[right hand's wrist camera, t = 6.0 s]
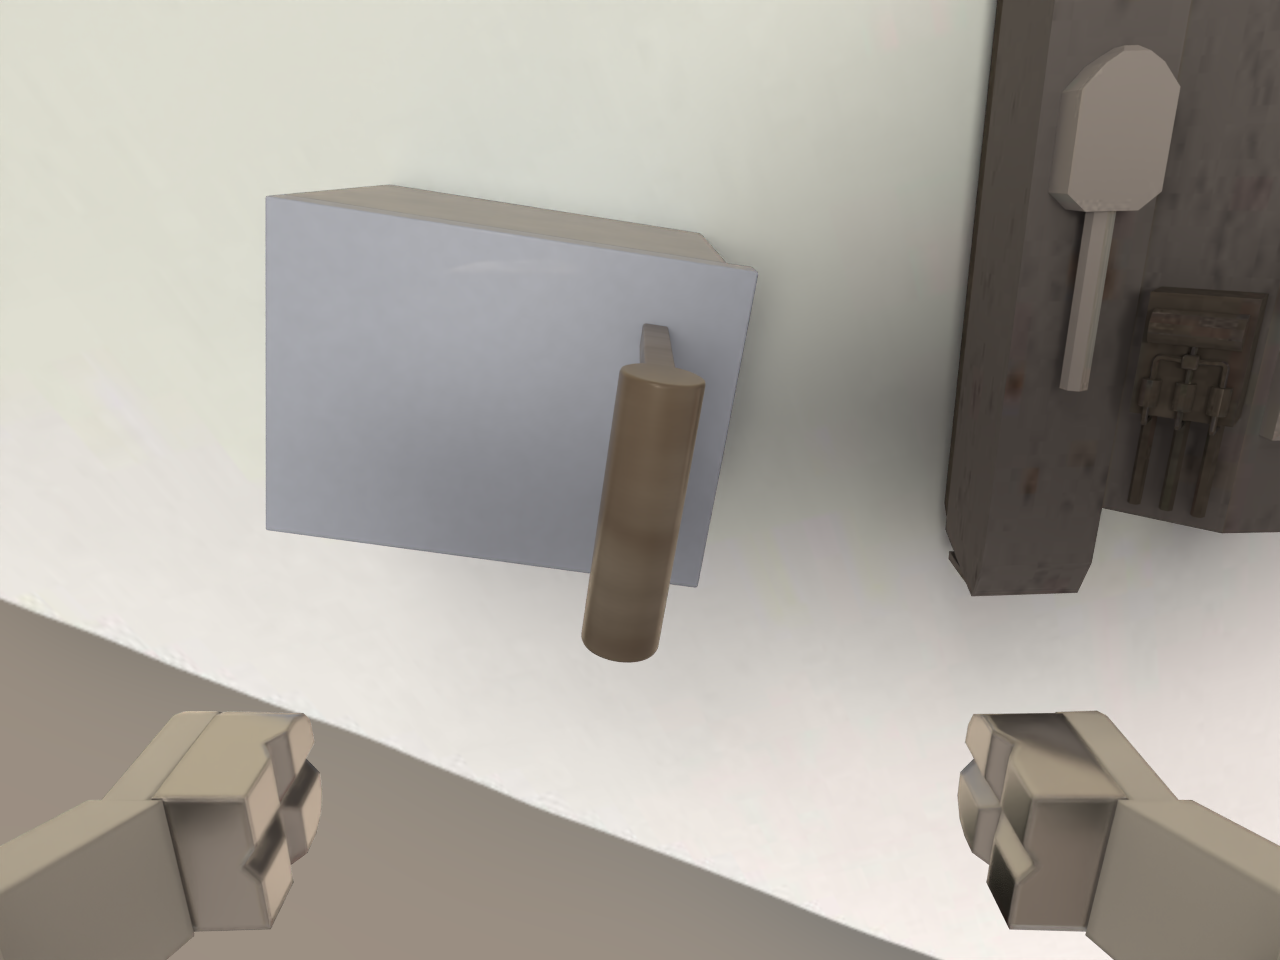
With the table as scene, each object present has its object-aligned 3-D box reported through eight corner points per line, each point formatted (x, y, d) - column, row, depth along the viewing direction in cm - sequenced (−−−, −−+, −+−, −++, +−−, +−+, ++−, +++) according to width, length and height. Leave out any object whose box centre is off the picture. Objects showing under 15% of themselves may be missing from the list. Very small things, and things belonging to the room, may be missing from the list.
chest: (701, 233, 33) (727, 263, 24) (663, 460, 37) (672, 568, 27) (388, 184, 33) (282, 193, 23) (377, 419, 36) (280, 515, 26)
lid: (753, 267, 24) (810, 319, 16) (694, 572, 27) (718, 739, 19) (281, 193, 23) (97, 210, 15) (279, 516, 26) (127, 666, 18)
